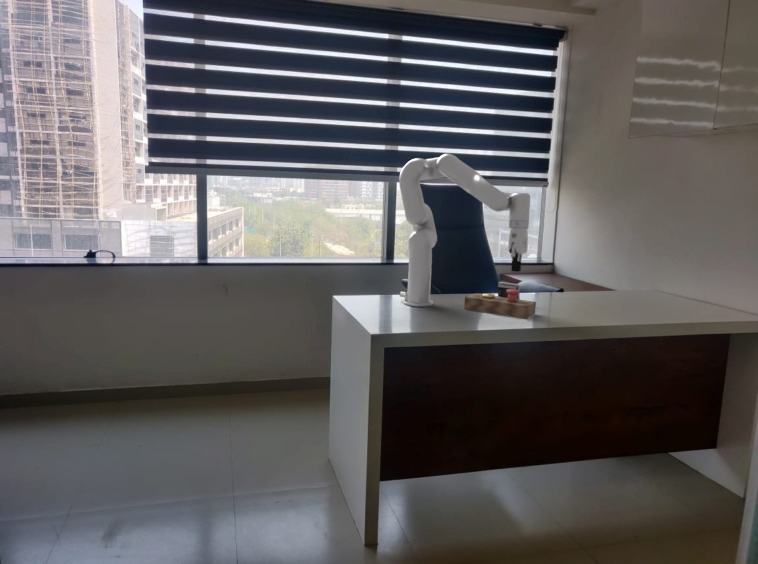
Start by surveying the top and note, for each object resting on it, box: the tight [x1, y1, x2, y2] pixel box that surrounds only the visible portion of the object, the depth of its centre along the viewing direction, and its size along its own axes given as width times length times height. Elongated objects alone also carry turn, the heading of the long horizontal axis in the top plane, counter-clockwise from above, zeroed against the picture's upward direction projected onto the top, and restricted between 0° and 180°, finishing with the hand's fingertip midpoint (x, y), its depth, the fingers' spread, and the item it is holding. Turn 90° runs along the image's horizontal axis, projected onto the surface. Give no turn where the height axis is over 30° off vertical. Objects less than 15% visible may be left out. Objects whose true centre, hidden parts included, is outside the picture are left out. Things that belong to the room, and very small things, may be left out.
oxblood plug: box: [506, 289, 520, 303], centre depth 222 cm, size 5×5×6 cm
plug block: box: [463, 292, 537, 320], centre depth 225 cm, size 26×11×5 cm, turn 58°
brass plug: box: [481, 292, 496, 299], centre depth 228 cm, size 5×5×6 cm
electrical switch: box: [497, 281, 521, 300], centre depth 242 cm, size 9×5×9 cm, turn 57°
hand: (515, 271), depth 220 cm, fingers closed
